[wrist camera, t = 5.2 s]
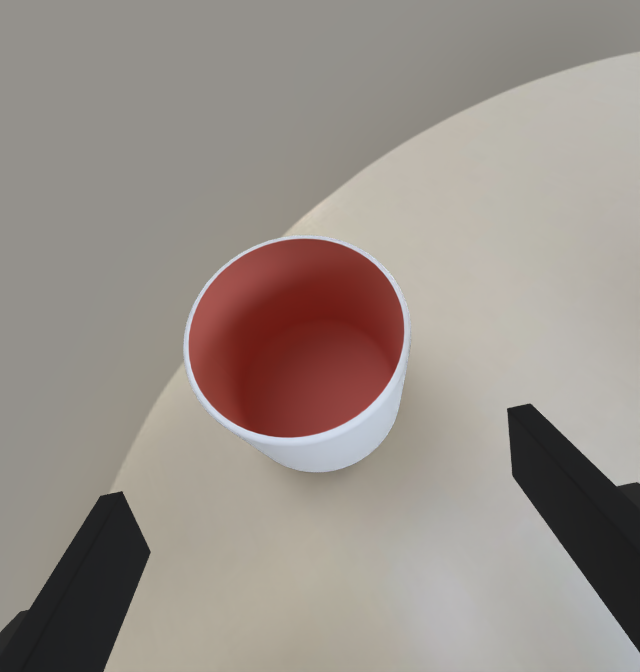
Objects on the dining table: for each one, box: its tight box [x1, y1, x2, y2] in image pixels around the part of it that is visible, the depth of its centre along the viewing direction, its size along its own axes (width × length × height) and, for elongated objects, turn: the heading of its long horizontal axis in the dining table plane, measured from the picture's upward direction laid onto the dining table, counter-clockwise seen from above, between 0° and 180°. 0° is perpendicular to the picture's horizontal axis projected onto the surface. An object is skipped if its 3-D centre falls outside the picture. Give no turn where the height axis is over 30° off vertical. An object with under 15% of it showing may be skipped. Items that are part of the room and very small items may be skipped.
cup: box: [183, 235, 411, 472], centre depth 23 cm, size 10×10×10 cm
